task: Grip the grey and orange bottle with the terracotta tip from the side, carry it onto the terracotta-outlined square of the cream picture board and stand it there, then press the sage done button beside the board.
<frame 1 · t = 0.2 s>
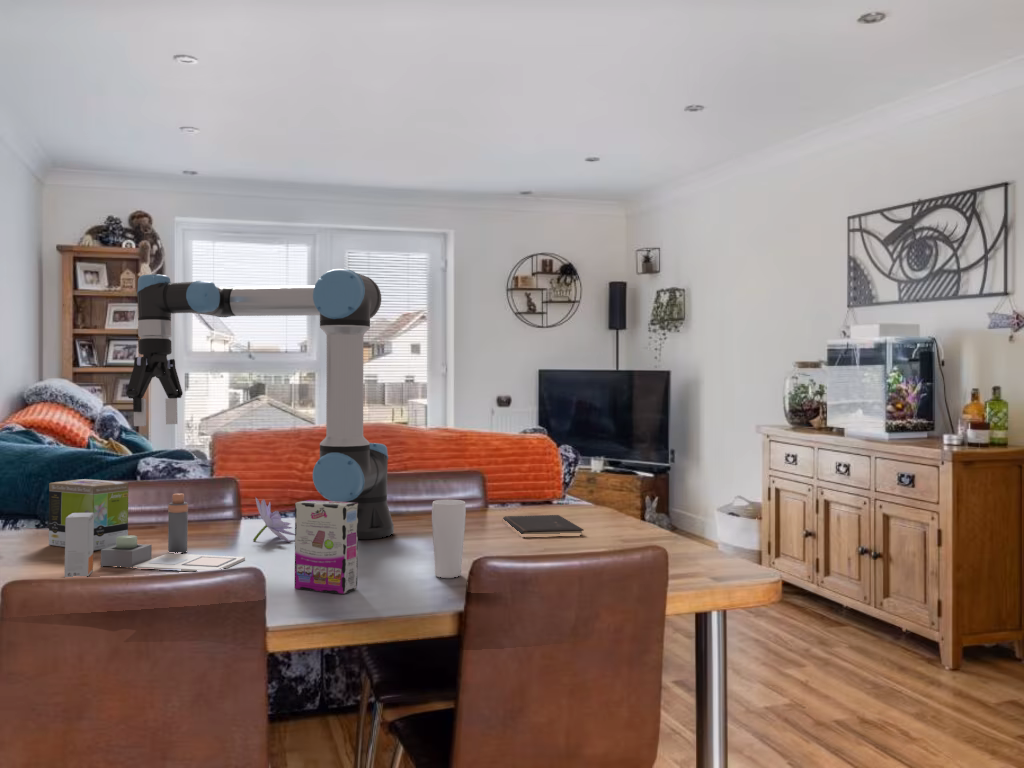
hand: (156, 425, 211), 27 cm above the table, tool pointing down, fingers open, 13 cm apart
grey and orange bottle: (177, 552, 192), on the table
water lily: (275, 541, 208), on the table
tea box: (88, 546, 199), on the table
soda can: (108, 533, 215), on the table
skincare box: (79, 576, 170), on the table
candy bar box: (325, 590, 162), on the table
drinking glass: (447, 577, 174), on the table
button housing: (126, 563, 180), on the table
hardcover book: (541, 532, 228), on the table
done button: (126, 541, 180), point 5 cm above the table, slide at 0.0 cm
board: (190, 564, 181), on the table
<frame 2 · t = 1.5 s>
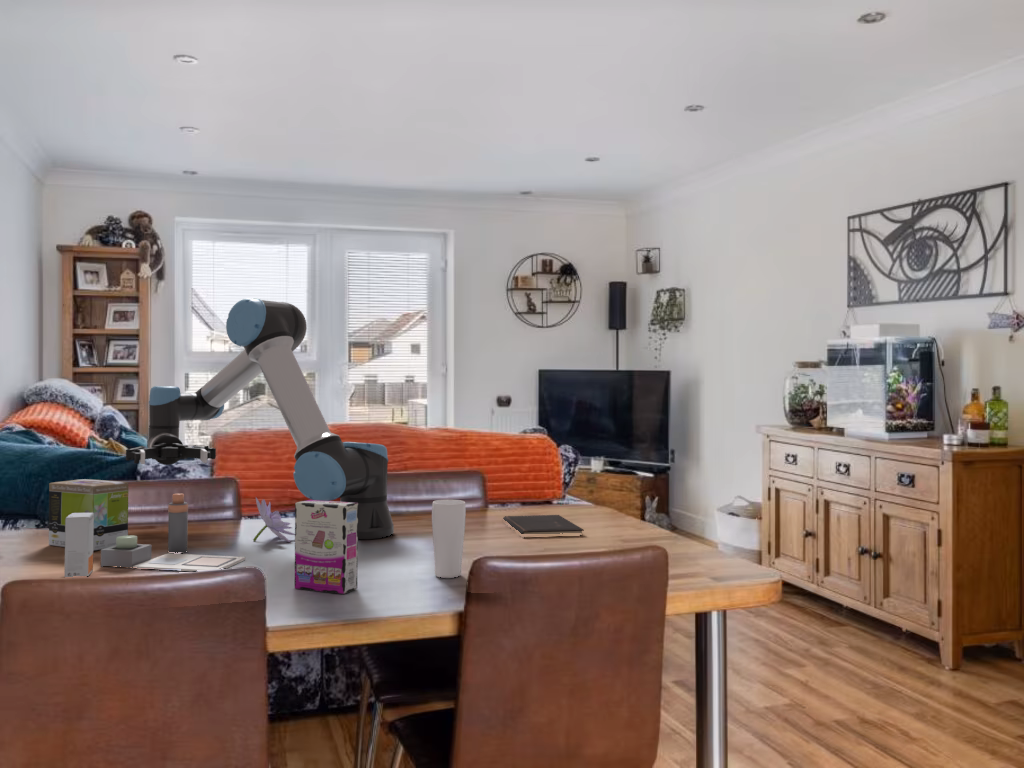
hand: (174, 457, 201), 20 cm above the table, tool horizontal, fingers open, 13 cm apart
nothing on the table moved.
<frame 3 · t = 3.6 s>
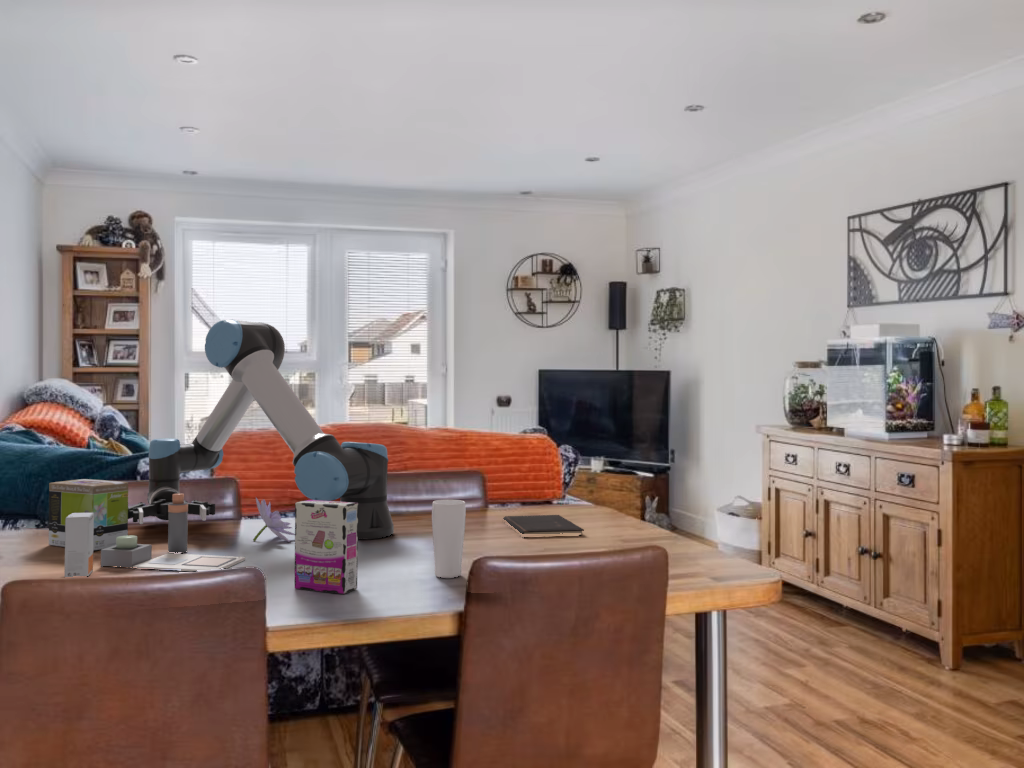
hand: (173, 516, 199), 7 cm above the table, tool horizontal, fingers open, 13 cm apart
tea box: (88, 546, 199), on the table, touching gripper
everything else where it was.
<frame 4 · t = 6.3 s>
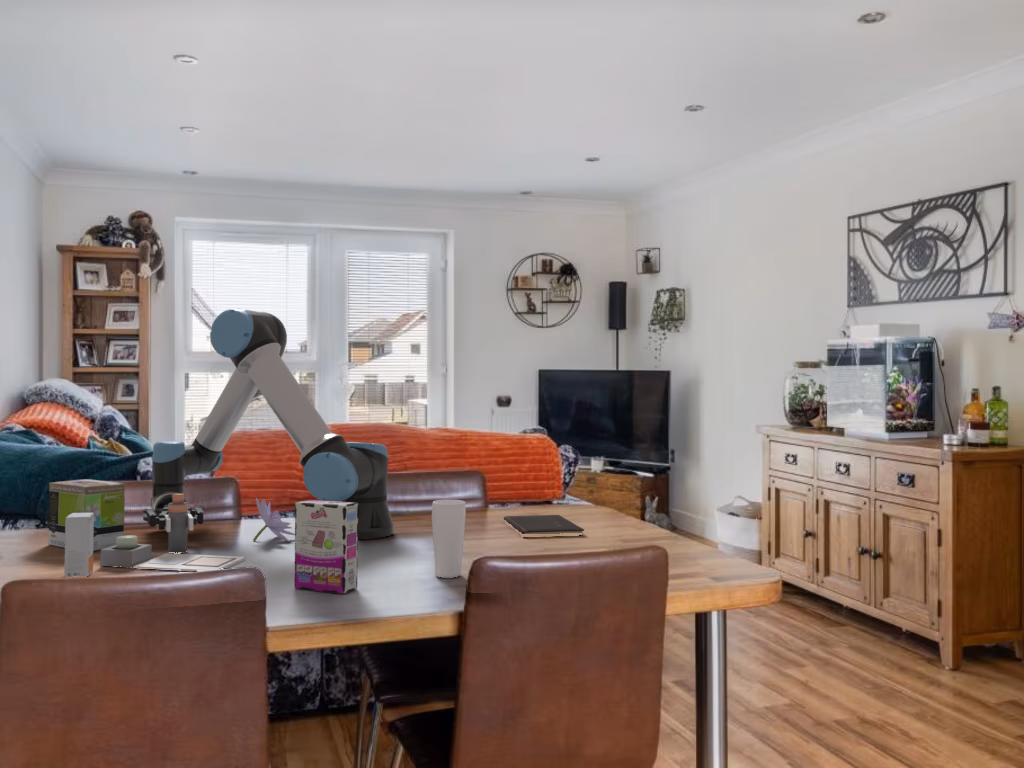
hand: (180, 524, 188), 7 cm above the table, tool horizontal, fingers closed on grey and orange bottle, 4 cm apart
grey and orange bottle: (177, 552, 192), on the table, touching gripper
tea box: (86, 546, 198), on the table
everything else where it was.
when the fingers open (9 cm above the table, at t = 10.3 s): grey and orange bottle drops 1 cm, resting on board.
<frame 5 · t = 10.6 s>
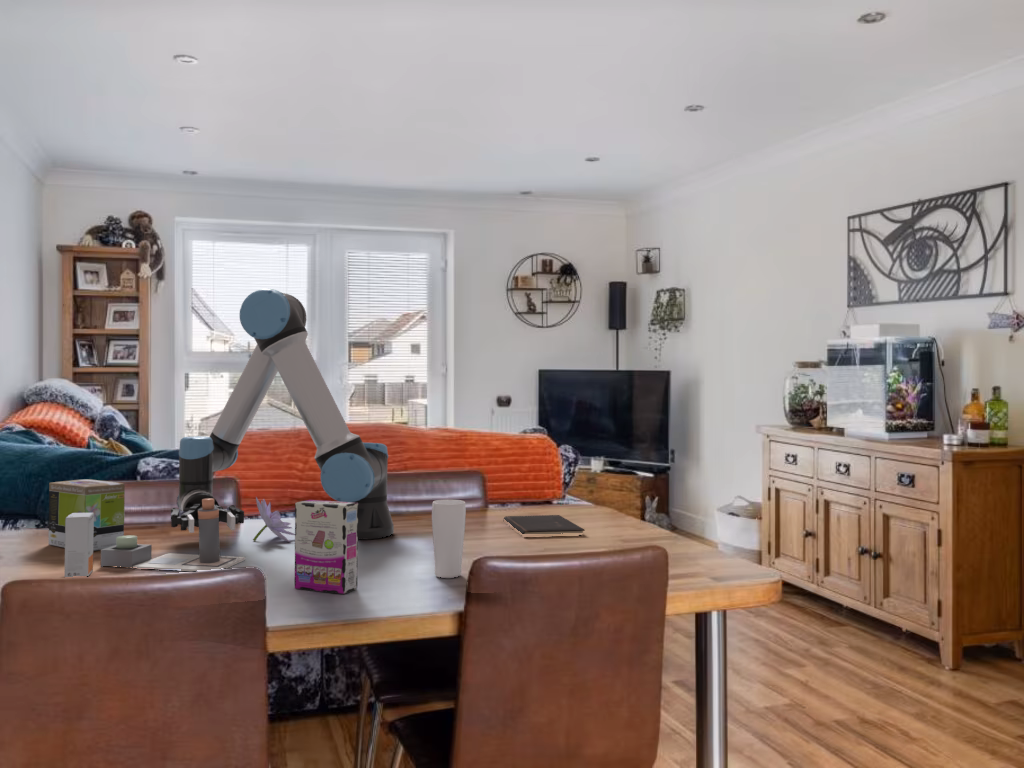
hand: (212, 524, 176), 9 cm above the table, tool horizontal, fingers open, 7 cm apart
grey and orange bottle: (209, 560, 181), point 1 cm above the table, touching board
everything else where it was.
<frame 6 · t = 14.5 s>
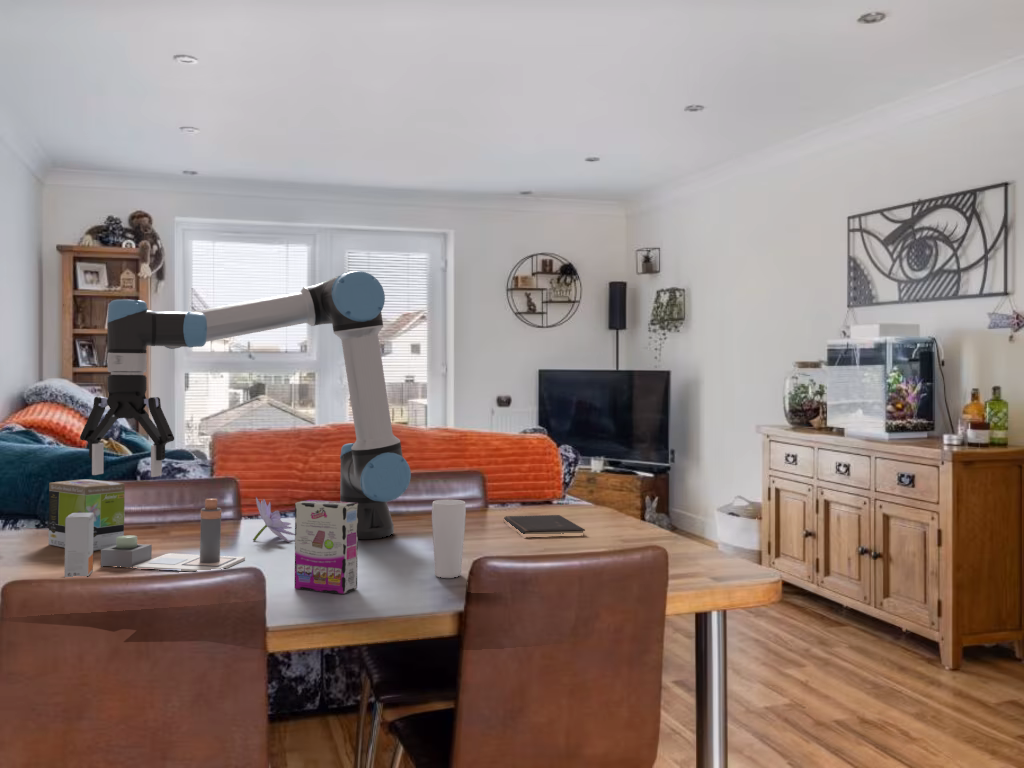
hand: (126, 475, 181), 18 cm above the table, tool pointing down, fingers open, 13 cm apart
nothing on the table moved.
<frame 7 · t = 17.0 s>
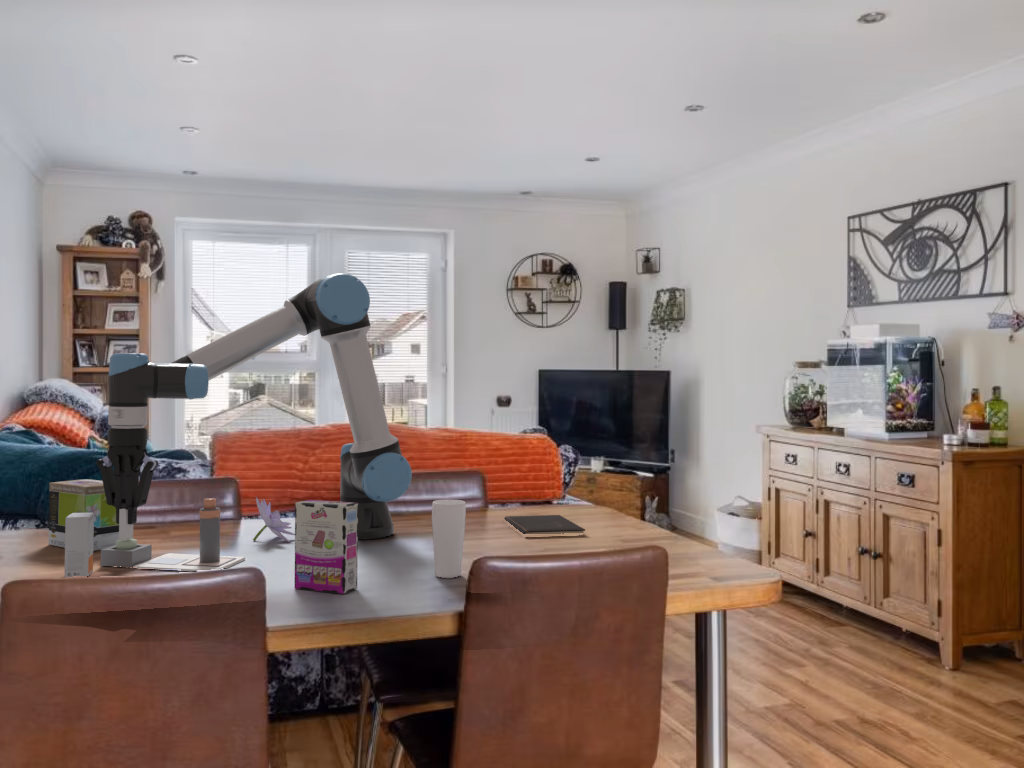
hand: (126, 539, 180), 5 cm above the table, tool pointing down, fingers closed
done button: (126, 545, 180), point 4 cm above the table, slide at 0.7 cm, touching gripper
everything else where it was.
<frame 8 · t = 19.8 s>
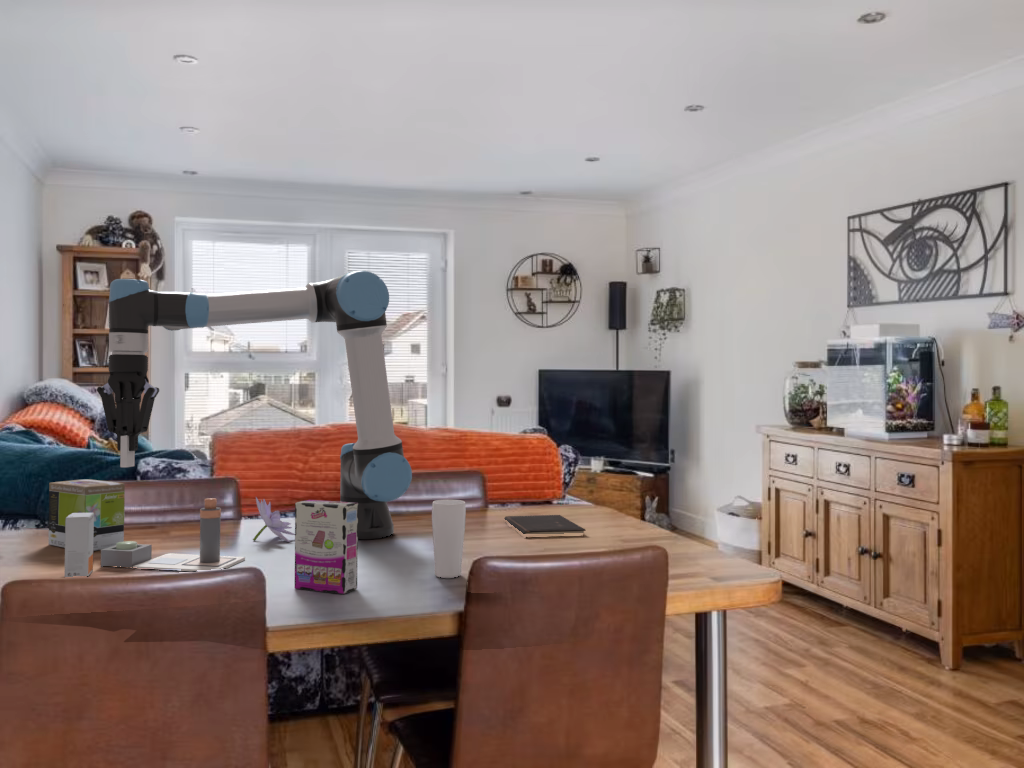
hand: (127, 466, 180), 20 cm above the table, tool pointing down, fingers closed
done button: (126, 547, 180), point 3 cm above the table, slide at 1.2 cm
everything else where it was.
at the end: grey and orange bottle inside the target area on the board (0.1 cm from its centre), point 0.8 cm above the board's base; grey and orange bottle tilted 2°; done button slide at 1.2 cm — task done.
